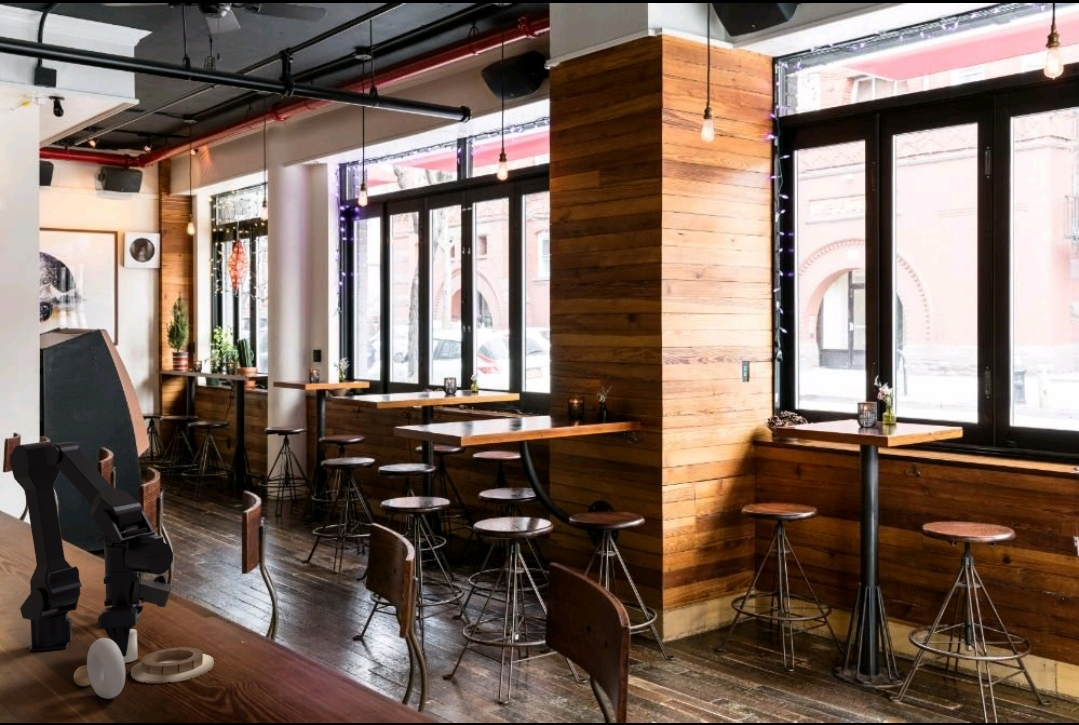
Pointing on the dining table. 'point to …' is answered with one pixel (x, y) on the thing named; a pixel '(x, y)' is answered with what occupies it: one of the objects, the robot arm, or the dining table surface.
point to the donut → (106, 668)
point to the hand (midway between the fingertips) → (124, 652)
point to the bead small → (82, 676)
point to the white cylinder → (131, 647)
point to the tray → (172, 677)
